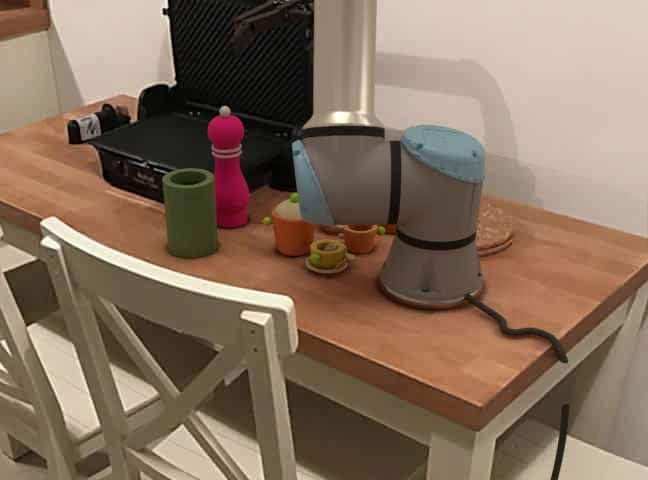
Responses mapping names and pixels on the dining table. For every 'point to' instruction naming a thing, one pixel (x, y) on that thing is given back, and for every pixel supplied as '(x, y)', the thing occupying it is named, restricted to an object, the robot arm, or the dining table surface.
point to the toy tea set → (325, 253)
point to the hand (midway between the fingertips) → (269, 53)
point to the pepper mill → (228, 170)
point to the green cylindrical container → (190, 212)
